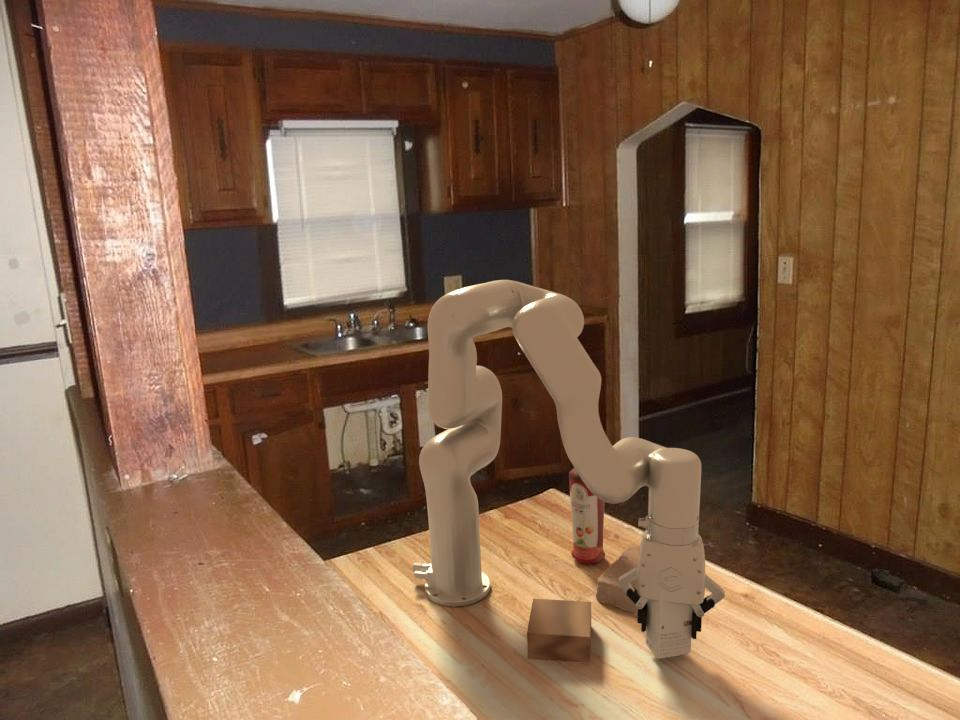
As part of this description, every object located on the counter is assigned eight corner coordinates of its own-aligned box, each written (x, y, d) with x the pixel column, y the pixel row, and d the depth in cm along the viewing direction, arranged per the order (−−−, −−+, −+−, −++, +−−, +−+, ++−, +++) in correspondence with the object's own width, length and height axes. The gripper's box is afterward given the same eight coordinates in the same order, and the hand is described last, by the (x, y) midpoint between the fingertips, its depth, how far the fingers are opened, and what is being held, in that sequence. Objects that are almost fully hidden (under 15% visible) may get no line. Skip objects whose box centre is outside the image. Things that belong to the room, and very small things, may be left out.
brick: (636, 615, 124) (636, 591, 123) (593, 601, 129) (593, 578, 128) (670, 574, 137) (671, 552, 136) (630, 562, 142) (630, 541, 141)
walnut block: (527, 660, 113) (526, 632, 112) (533, 624, 123) (533, 598, 122) (590, 664, 111) (589, 637, 110) (591, 627, 121) (591, 601, 120)
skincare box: (657, 660, 109) (659, 591, 106) (644, 642, 114) (646, 575, 111) (692, 653, 111) (695, 585, 108) (678, 636, 115) (681, 570, 112)
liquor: (613, 558, 143) (612, 428, 137) (593, 572, 138) (592, 438, 132) (583, 547, 148) (581, 421, 142) (563, 561, 143) (560, 431, 136)
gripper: (613, 533, 106) (611, 636, 110) (734, 546, 101) (727, 653, 106) (617, 512, 113) (615, 609, 117) (731, 523, 108) (724, 624, 113)
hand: (668, 629), depth 111 cm, fingers closed on skincare box, 7 cm apart
